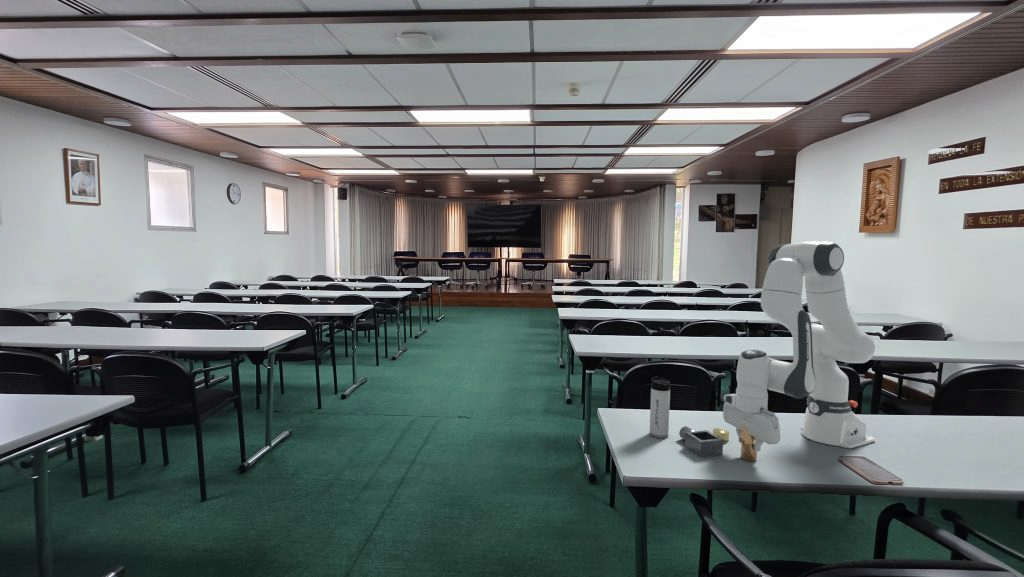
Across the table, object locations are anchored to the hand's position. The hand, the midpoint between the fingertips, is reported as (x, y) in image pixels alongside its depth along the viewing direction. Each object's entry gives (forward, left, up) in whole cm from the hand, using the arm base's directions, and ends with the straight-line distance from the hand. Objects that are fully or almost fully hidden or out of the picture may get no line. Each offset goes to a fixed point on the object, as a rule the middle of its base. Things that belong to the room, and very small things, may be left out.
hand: (749, 446), depth 145 cm
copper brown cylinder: (0, 0, -4) cm, 4 cm away
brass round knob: (-2, -15, -4) cm, 16 cm away
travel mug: (+17, -23, -4) cm, 29 cm away
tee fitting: (+10, -11, -4) cm, 16 cm away
